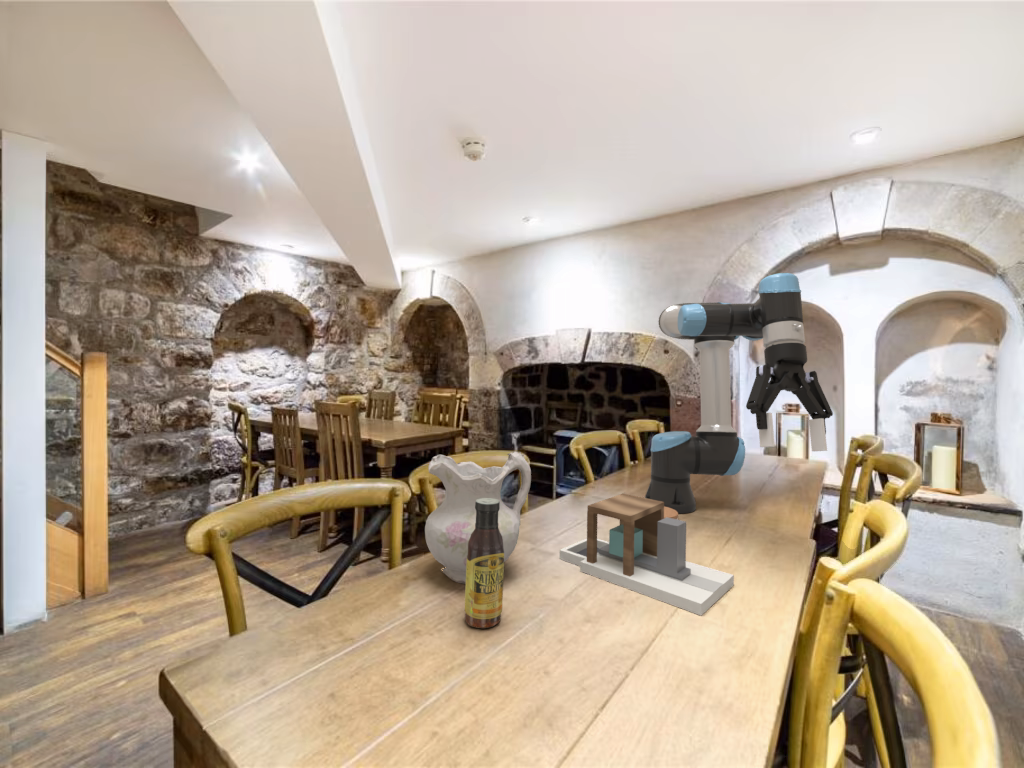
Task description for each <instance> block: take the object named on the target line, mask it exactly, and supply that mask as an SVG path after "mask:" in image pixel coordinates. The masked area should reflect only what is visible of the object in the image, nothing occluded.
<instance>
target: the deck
mask: <svg viewBox="0 0 1024 768" xmlns="http://www.w3.org/2000/svg"><path fill="white" fill-rule="evenodd" d="M607 544H609V541H606V540H603V539H600V538H597V562H595V563H593V564H592V563H589V562H587V537H586V538H584V539H581V540H579V541H577V542H575V543H572V544H570V545H567V546H565V547H563V548H561V549H559V560H562V561H565V562H568V563H570V564H573V565H575V566H579V568H580V569H579V572H582V573H585V574H587V575H591V576H593V577H595V578H597V579H601V580H603V581H607V582H608V583H611V584H614V585H617V586H620V587H622V588H625V589H628V590H631V591H633V592H636V593H639V594H642V595H643V596H646V597H649V598H653V599H655V600H657V601H661V602H664V603H665V604H668V605H672V606H674V607H677V608H679V609H682V610H684V611H688V612H689V613H693V614H696V615H698V616H703V615H704V614H705V613H706V612H707V610H709V609H710V608H711V607H712V606H713V605H714V604H715V603H716V602H717V601H718V600H719V599H721V598H722V597H723V596H724V595H725V594H726V593H727V592H729V590H730V589H731V588H733V587H734V583H735V582H734V581H735V580H734V579H735V575H734V574H732V573H728V572H724V571H721V570H717V569H715V568H711V567H707V566H705V565H701V564H697V563H694V562H691V561H687V560H686V568H690V569H691V574H690V575H689V576H687V577H686V578H684V579H683V580H679V579H676V578H673V577H670V576H667V575H664V574H660V573H657V572H654V571H651V570H648V569H645V568H642V567H639V566H636V565H634V574H633V575H632V576H630V577H629V576H627V575H624V574H623V561H620V560H617V559H614V558H611V557H608V556H605V555H602V554H599V553H598V549H599V548H601V547H603V546H605V545H607ZM642 554H643V555H647V556H650V557H653V558H656V559H657V557H656V556H653V555H649V554H646V553H643V552H642Z"/></svg>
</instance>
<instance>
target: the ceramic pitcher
mask: <svg viewBox="0 0 1024 768" xmlns="http://www.w3.org/2000/svg"><path fill="white" fill-rule="evenodd" d="M506 455H507V456H508V458H507V460H506V462H505V464H504V465H503V466H502V467H501V466H495V465H494V466H490V467H484V468H483V467H482V466H480V465H479V464H477V463H476V462H474V461H461V462H458V463H457V462H456V460H455V459H454V458H453V457H451V456H449V455H447V456H446V455H444V454H437V455H435V456H433V457H432V458H431V461H429V463H428V466H427V467H428V469H427V470H428V473H429V474H431V475H433V476H436V477H437V478H438V479H439V480H440V481H441V482H442V484H443V486H444V488H445V496H444V500H443V501H442V503H441V504H440V505H439V506H438V507H436V508H435V509H434V510H433V511H432V512H431V513H430V514H429V515H428V516H427V518H426V521H425V526H424V538H425V542H426V546H427V547H428V550H429V552H430V553H431V555H432V556H433V559H435V560H436V561H437V562H438V563H439V564H441V565H442V566H443V567H446V568H444V569H442V570H443V572H442V573H443V574H444V575H445V576H446V577H448V579H451V580H452V581H453V582H456V583H459V584H464V585H466V563H467V555H468V542H469V539H470V537H471V534H472V532H473V531H474V530H475V523H476V509H475V503H476V500H477V499H481V498H493V499H497V500H499V502H500V509H499V511H498V528H499V531H500V533H501V535H502V538H503V547H504V563H505V562H506V561H507V560H508V559H509V557H510V556H511V555H512V553H513V552H514V551H515V549H516V547H517V544H518V540H519V535H520V526H521V510H522V508H523V506H525V503H526V501H527V498H528V494H529V492H530V488H531V483H532V482H531V481H532V475H531V474H532V470H531V467H530V466H531V465H530V463H528V461H527V460H526V459H525V454H522V452H521V451H518V450H516V451H511V452H509V453H507V454H506ZM516 470H519V472H520V477H521V479H520V480H521V484H520V488H519V490H518V492H517V495H516V497H515V501H514V504H513V507H512V508H510V507H508V506H507V505H506V504H505V503H504V502H503V500H502V497H501V489H502V487H503V481H504V480H505V478H506V477H507V476H508V475H509V474H510V473H512V472H513V471H516Z"/></svg>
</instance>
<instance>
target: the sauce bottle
mask: <svg viewBox="0 0 1024 768" xmlns="http://www.w3.org/2000/svg"><path fill="white" fill-rule="evenodd" d="M475 509H476V523H475V530H474V531H473V532H472V534H471V537H470V539H469V542H468V555H467V563H466V584H465V588H464V589H465V591H464V612H465V613H464V616H465V617H464V619H465V623H467V625H469V626H470V627H473V628H476V629H489V628H492V627H494V626H496V625H497V624H499V623H500V621H501V617H502V612H503V601H504V600H503V596H504V570H505V568H504V567H505V562H504V547H503V538H502V535H501V533H500V531H499V528H498V511H499V509H500V502H499V500H497V499H493V498H481V499H477V500H476V503H475Z"/></svg>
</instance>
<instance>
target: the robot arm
mask: <svg viewBox="0 0 1024 768" xmlns="http://www.w3.org/2000/svg"><path fill="white" fill-rule="evenodd" d="M799 281H800V280H799V278H798V276H797V275H795V274H793V273H790V272H789V273H788V272H779V273H774V274H771V275H767V276H766V277H764V278H762V279H761V280H760V282H759V284H758V291H757V293H758V296H759V298H758V299H757V300H756V301H755V302H753V303H731V302H721V301H718V302H717V301H716V302H692V303H691V302H685V303H684V302H682V303H677V304H673V305H671V306H668V307H666V308H665V309H663V310H662V311H661V313H660V315H659V316H658V327H659V331H661V333H663V334H664V335H665V336H667V337H670V338H673V339H678V340H687V341H688V340H689V341H690V340H692V341H693V340H694V341H693V342H694V347H695V348H696V349H697V350H698V351H699V369H700V370H699V371H700V372H699V373H700V374H699V378H700V379H699V380H700V383H699V384H700V385H699V386H700V426H699V427H698V428H697V429H696V431H695V436H692V434H691V432H689V431H686V430H684V431H674V430H673V431H665V432H661V433H657V434H655V435H654V436H652V439H651V445H650V481H649V485H648V487H647V489H646V493H645V496H644V498H647V499H652V500H657V501H662V502H664V506H665V507H669V508H672V509H674V510H676V511H677V512H678V514H688V513H693V512H695V511H696V509H697V507H696V506H697V503H696V498H695V495H694V492H693V490H692V486H691V475H703V476H704V475H705V476H706V475H707V476H708V475H709V476H721V477H725V476H735V475H738V474H739V473H740V471H741V470H742V468H743V465H744V463H745V458H746V445H745V441H744V440H743V438H742V437H739V436H738V431H737V430H736V429H735V428H734V427H733V426H732V404H731V402H732V401H731V399H732V398H731V397H732V396H731V370H730V369H731V367H730V366H731V365H730V364H731V362H730V349H731V348H732V347H733V346H734V345H735V341H736V340H738V339H739V338H740V337H742V338H744V339H746V340H749V341H752V342H753V341H754V342H755V341H761V340H762V344H763V345H762V346H763V347H764V348H765V349H764V351H763V352H764V353H763V354H764V355H763V356H764V364H763V365H762V364H761V365H759V366H756V367H755V368H756V369H755V379H754V382H753V385H752V386H751V387H752V388H751V390H750V393H749V396H748V399H747V401H746V406H745V408H746V409H747V410H748V411H749V410H750V414H751V415H755V417H756V418H755V420H756V422H755V423H756V428H757V430H758V434H759V435H758V436H759V447H760V448H773V447H776V446H775V445H776V444H775V443H776V442H775V434H774V433H775V432H774V423H773V422H774V421H773V412H769V410H770V408H771V407H772V406H773V404H774V402H775V400H776V399H777V397H778V395H780V392H782V391H785V392H791V394H793V395H795V396H796V398H797V399H798V400H799V402H800V403H801V404H802V406H803V407H804V409H805V410H806V412H807V413H808V415H809V416H810V418H812V419H808V425H809V435H810V436H809V437H810V444H811V452H827V451H828V446H827V445H828V444H827V427H826V419H830V418H831V417H833V415H834V413H833V410H832V407H831V406H830V403H829V402H828V399H827V397H826V395H825V393H824V391H823V388H822V387H821V385H820V383H819V377H818V373H817V372H816V371H815V370H813V371H808V372H806V371H805V368H804V366H805V364H807V362H808V354H807V353H808V352H807V351H808V350H807V346H806V345H805V343H806V336H805V328H804V316H803V315H804V314H803V304H802V302H803V301H802V294H801V292H802V290H801V287H800V282H799Z"/></svg>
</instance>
